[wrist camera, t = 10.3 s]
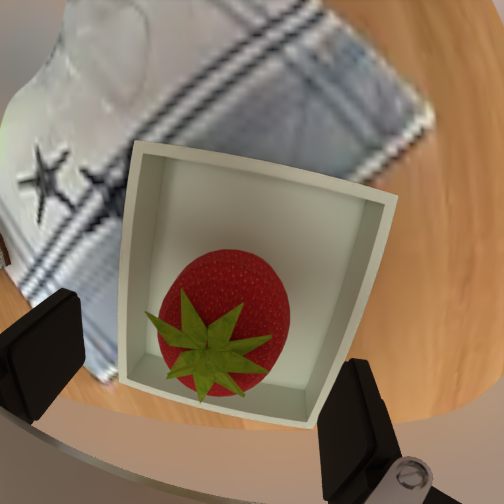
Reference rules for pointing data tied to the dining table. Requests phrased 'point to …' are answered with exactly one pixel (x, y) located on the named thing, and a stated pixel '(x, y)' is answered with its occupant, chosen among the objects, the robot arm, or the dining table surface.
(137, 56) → the dining table surface
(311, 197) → the serving tray
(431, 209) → the dining table surface
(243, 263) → the strawberry
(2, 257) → the food container
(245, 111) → the dining table surface
